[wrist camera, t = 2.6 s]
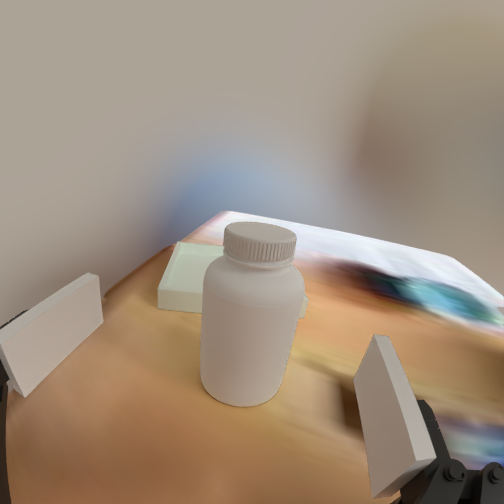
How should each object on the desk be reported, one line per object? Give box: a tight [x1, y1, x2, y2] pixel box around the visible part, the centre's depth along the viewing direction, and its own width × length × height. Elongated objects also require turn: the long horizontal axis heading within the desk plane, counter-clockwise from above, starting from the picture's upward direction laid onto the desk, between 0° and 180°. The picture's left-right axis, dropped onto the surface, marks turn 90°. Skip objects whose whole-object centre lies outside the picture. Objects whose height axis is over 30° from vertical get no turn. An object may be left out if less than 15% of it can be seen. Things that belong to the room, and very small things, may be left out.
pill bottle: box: [200, 222, 305, 407], centre depth 23 cm, size 8×8×15 cm
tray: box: [158, 242, 309, 318], centre depth 45 cm, size 20×20×3 cm
